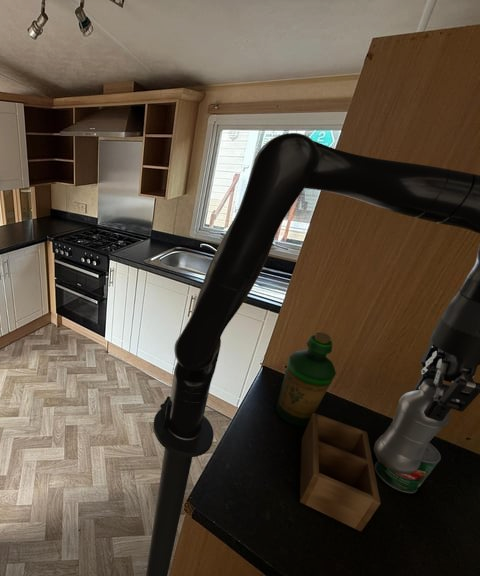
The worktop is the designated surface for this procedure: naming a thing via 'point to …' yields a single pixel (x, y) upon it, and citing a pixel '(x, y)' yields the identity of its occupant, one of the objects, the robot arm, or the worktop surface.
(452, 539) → the worktop surface
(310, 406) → the bottle
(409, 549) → the worktop surface
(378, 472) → the canned tomato
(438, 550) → the worktop surface
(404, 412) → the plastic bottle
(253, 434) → the worktop surface
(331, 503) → the bottle rack
